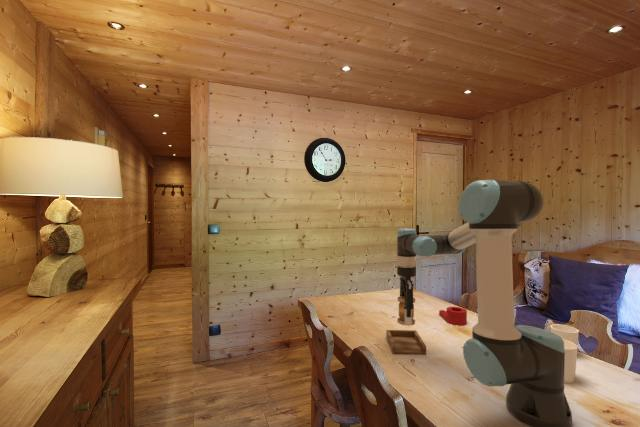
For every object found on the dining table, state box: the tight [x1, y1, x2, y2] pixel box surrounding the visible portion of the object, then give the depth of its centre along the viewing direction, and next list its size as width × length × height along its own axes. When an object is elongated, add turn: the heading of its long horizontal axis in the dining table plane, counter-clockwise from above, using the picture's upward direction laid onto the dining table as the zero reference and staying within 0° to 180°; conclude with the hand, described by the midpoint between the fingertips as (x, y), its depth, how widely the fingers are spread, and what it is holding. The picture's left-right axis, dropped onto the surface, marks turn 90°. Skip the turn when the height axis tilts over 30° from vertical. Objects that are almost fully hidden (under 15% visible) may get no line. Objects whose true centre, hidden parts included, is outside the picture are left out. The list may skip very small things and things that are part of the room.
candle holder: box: [562, 339, 579, 384], centre depth 109 cm, size 10×10×12 cm
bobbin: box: [396, 295, 416, 326], centre depth 132 cm, size 7×7×10 cm
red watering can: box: [438, 306, 468, 327], centre depth 166 cm, size 18×9×7 cm, turn 14°
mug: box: [550, 323, 580, 347], centre depth 127 cm, size 11×9×10 cm
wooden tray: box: [385, 329, 427, 356], centre depth 134 cm, size 16×13×4 cm
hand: (406, 321), depth 132 cm, fingers closed on bobbin, 7 cm apart
